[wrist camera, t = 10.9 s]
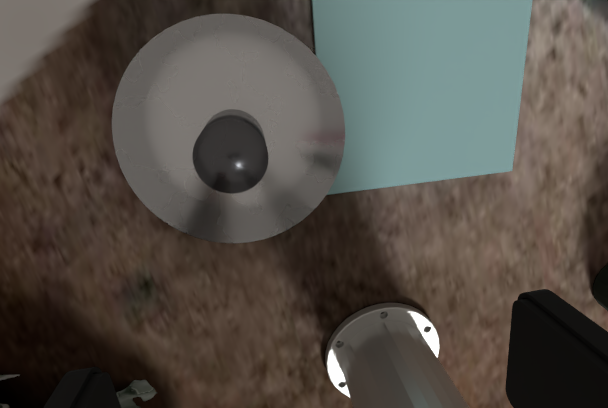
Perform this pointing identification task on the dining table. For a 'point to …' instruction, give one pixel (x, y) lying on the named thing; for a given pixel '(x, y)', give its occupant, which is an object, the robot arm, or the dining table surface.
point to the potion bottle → (601, 288)
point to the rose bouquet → (124, 396)
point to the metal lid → (228, 128)
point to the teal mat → (423, 86)
